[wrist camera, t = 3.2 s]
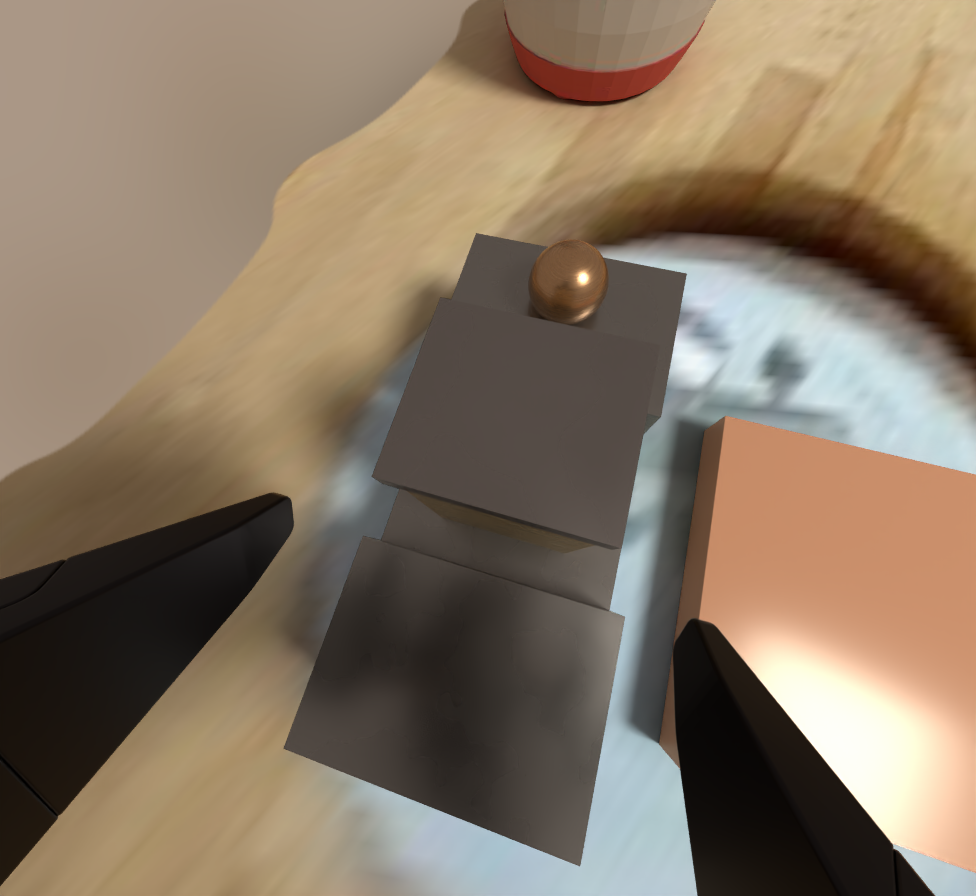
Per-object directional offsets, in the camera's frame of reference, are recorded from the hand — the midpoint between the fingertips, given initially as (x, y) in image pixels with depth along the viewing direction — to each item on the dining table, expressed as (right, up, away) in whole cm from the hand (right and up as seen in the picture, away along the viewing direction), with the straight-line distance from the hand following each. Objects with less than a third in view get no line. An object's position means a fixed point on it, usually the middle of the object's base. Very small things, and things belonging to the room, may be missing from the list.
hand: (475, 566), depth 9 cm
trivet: (+16, -5, +8) cm, 19 cm away
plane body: (+2, 0, +11) cm, 11 cm away
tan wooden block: (+1, +1, +7) cm, 7 cm away
